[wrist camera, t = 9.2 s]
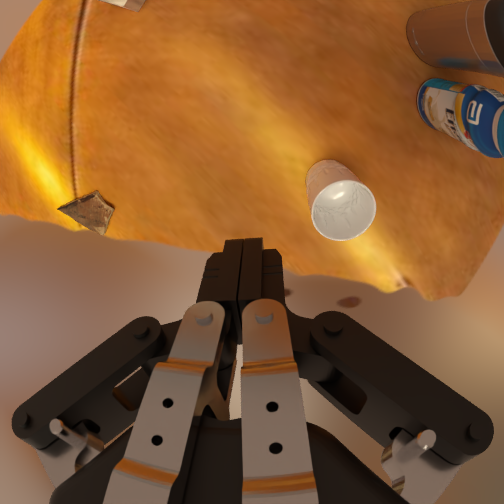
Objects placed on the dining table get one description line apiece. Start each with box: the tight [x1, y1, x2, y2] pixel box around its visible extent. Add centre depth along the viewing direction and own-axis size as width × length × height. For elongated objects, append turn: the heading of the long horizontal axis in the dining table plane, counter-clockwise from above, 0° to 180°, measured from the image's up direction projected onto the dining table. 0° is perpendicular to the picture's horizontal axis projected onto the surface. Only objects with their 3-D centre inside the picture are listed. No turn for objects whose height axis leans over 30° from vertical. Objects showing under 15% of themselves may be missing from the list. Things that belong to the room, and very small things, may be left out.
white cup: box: [305, 160, 376, 241], centre depth 36 cm, size 8×8×10 cm
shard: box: [58, 191, 114, 235], centre depth 42 cm, size 11×8×2 cm
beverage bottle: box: [417, 78, 504, 158], centre depth 23 cm, size 8×8×20 cm
